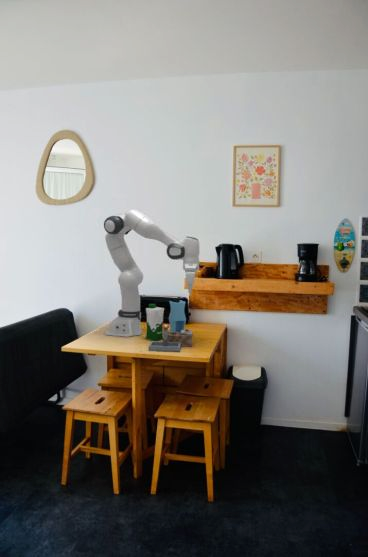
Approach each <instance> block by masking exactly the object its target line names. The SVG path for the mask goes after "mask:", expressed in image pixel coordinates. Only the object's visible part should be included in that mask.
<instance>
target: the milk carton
mask: <svg viewBox="0 0 368 557" xmlns="http://www.w3.org/2000/svg"><path fill="white" fill-rule="evenodd" d="M164 311H165V307H158V306H156V303H149V304H148V307H146V308H145V313H146V334H145V340H149V341H157V342H158V341H159V340H160V341H161V340H163V328H162V325H163V324H164V313H165V312H164Z"/></svg>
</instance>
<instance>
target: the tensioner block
mask: <svg viewBox="0 0 368 557" xmlns="http://www.w3.org/2000/svg"><path fill="white" fill-rule="evenodd" d="M193 335H194V334H193V330H192V329H188V328H186V329H185V330H181V332H170V330H168V342H181V347H182V348H192V347H193Z"/></svg>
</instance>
